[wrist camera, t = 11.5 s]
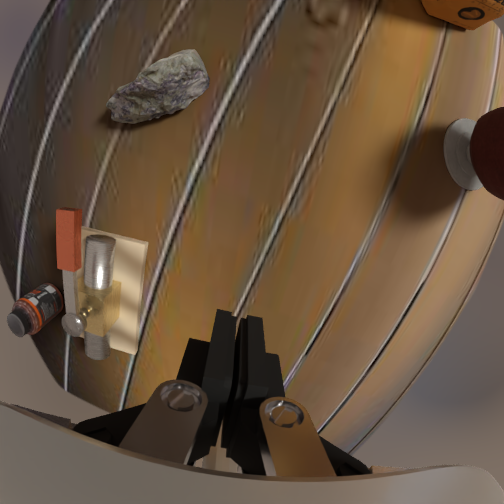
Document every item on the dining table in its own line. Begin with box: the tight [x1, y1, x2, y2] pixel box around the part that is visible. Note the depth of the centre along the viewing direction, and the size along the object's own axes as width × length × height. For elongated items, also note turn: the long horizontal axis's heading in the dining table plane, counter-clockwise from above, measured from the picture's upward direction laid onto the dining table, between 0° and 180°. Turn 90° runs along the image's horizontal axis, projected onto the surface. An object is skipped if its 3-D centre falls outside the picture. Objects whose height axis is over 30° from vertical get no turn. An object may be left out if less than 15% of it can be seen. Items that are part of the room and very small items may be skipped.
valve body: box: [77, 234, 122, 360], centre depth 38 cm, size 19×6×8 cm, turn 167°
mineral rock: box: [106, 49, 209, 124], centre depth 31 cm, size 13×11×10 cm
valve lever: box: [56, 207, 87, 337], centre depth 31 cm, size 16×3×2 cm, turn 172°
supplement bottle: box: [7, 283, 64, 337], centre depth 38 cm, size 6×6×11 cm
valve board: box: [77, 226, 148, 355], centre depth 43 cm, size 19×12×2 cm, turn 167°
